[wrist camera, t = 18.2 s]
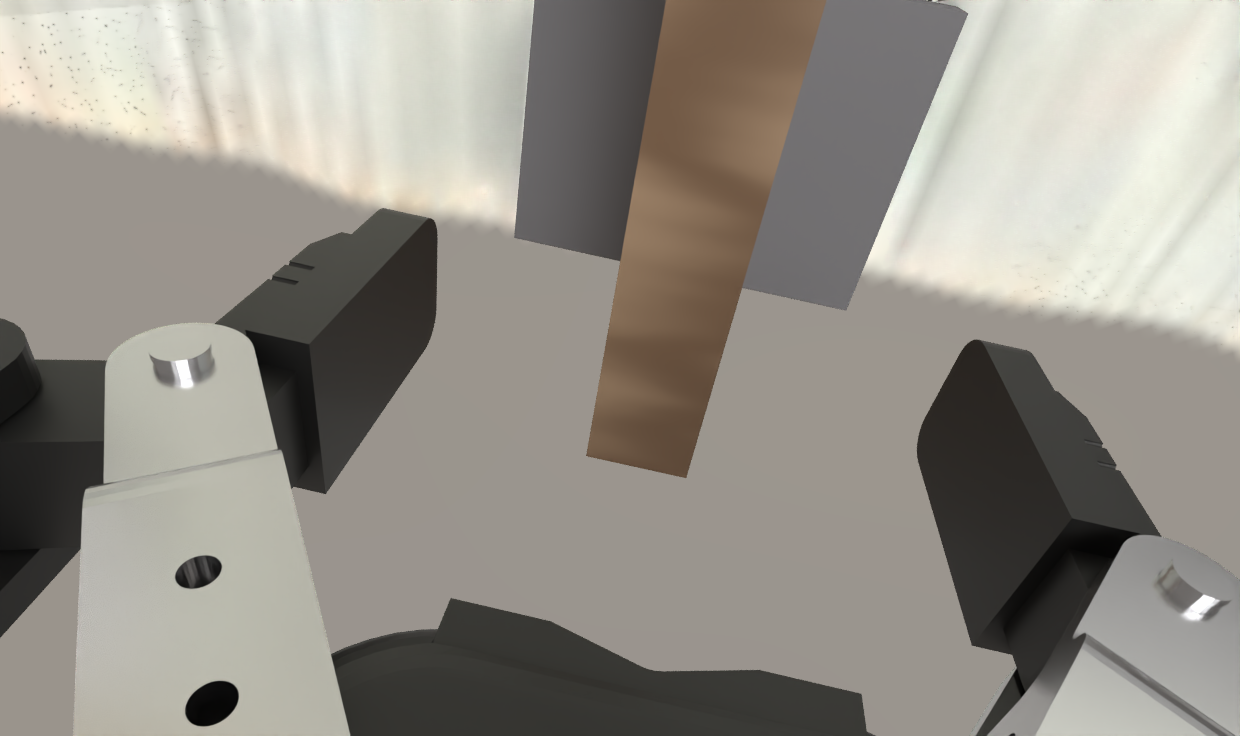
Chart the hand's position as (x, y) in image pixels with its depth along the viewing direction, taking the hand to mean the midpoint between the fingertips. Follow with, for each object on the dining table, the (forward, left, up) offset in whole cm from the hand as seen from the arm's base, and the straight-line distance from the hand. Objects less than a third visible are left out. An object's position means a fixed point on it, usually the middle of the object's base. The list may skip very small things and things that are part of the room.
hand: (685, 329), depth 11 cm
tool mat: (0, 0, -11) cm, 11 cm away
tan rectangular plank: (0, +6, -7) cm, 9 cm away
